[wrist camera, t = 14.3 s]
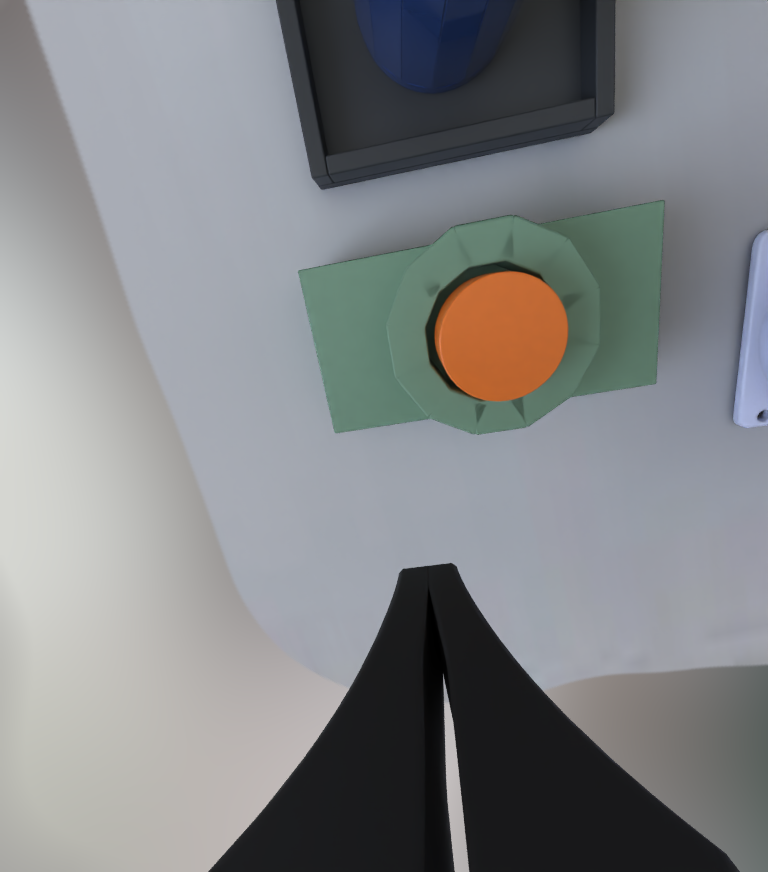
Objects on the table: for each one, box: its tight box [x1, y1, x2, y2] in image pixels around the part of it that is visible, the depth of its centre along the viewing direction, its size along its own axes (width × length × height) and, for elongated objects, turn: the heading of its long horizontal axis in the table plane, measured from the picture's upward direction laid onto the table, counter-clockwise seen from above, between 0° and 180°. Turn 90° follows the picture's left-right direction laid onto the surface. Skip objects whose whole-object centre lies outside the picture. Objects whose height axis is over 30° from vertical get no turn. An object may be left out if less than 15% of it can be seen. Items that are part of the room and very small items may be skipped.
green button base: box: [298, 200, 665, 435], centre depth 15 cm, size 12×6×5 cm, turn 100°
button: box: [434, 271, 568, 401], centre depth 12 cm, size 4×4×2 cm
